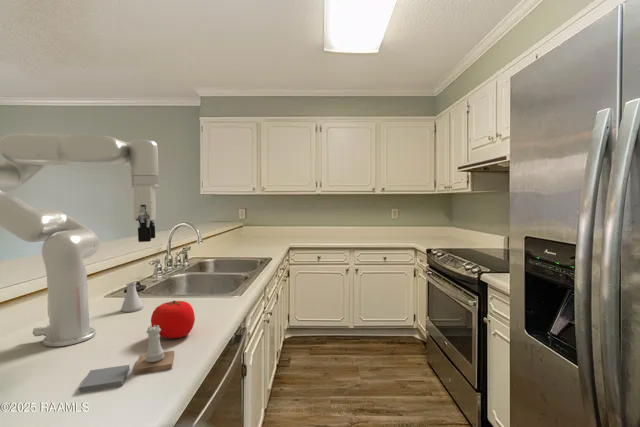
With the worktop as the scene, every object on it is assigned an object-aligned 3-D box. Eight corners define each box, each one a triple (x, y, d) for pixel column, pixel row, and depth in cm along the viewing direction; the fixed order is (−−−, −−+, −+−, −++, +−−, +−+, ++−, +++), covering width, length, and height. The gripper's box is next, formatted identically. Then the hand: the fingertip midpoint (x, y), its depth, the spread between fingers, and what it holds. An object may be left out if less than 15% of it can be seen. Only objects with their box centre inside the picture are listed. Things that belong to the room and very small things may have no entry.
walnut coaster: (134, 374, 82) (134, 369, 82) (140, 359, 90) (139, 355, 90) (171, 368, 85) (171, 363, 85) (174, 355, 92) (174, 350, 92)
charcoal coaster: (79, 393, 75) (78, 387, 75) (90, 375, 82) (90, 370, 82) (122, 386, 77) (122, 380, 77) (129, 369, 85) (129, 364, 85)
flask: (134, 313, 128) (133, 285, 128) (116, 312, 129) (115, 285, 129) (147, 307, 135) (146, 280, 135) (130, 306, 137) (129, 280, 136)
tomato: (203, 331, 109) (202, 297, 109) (178, 346, 98) (177, 308, 98) (171, 327, 113) (169, 294, 112) (142, 342, 101) (141, 305, 101)
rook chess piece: (168, 358, 88) (166, 326, 87) (149, 365, 84) (148, 331, 84) (159, 353, 90) (158, 322, 90) (141, 359, 87) (140, 327, 87)
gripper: (136, 183, 113) (138, 237, 114) (124, 180, 97) (127, 243, 97) (162, 183, 116) (164, 236, 116) (155, 180, 99) (157, 242, 100)
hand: (147, 239), depth 107 cm, fingers open, 9 cm apart
